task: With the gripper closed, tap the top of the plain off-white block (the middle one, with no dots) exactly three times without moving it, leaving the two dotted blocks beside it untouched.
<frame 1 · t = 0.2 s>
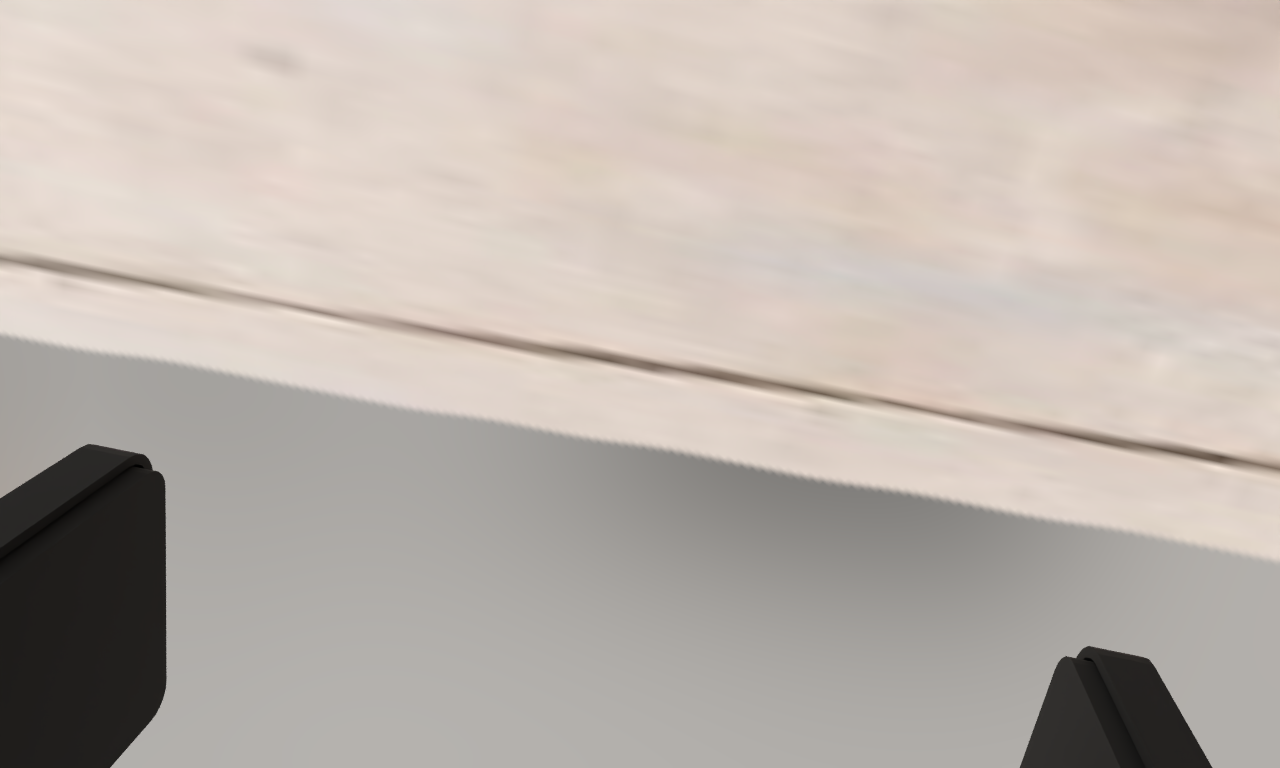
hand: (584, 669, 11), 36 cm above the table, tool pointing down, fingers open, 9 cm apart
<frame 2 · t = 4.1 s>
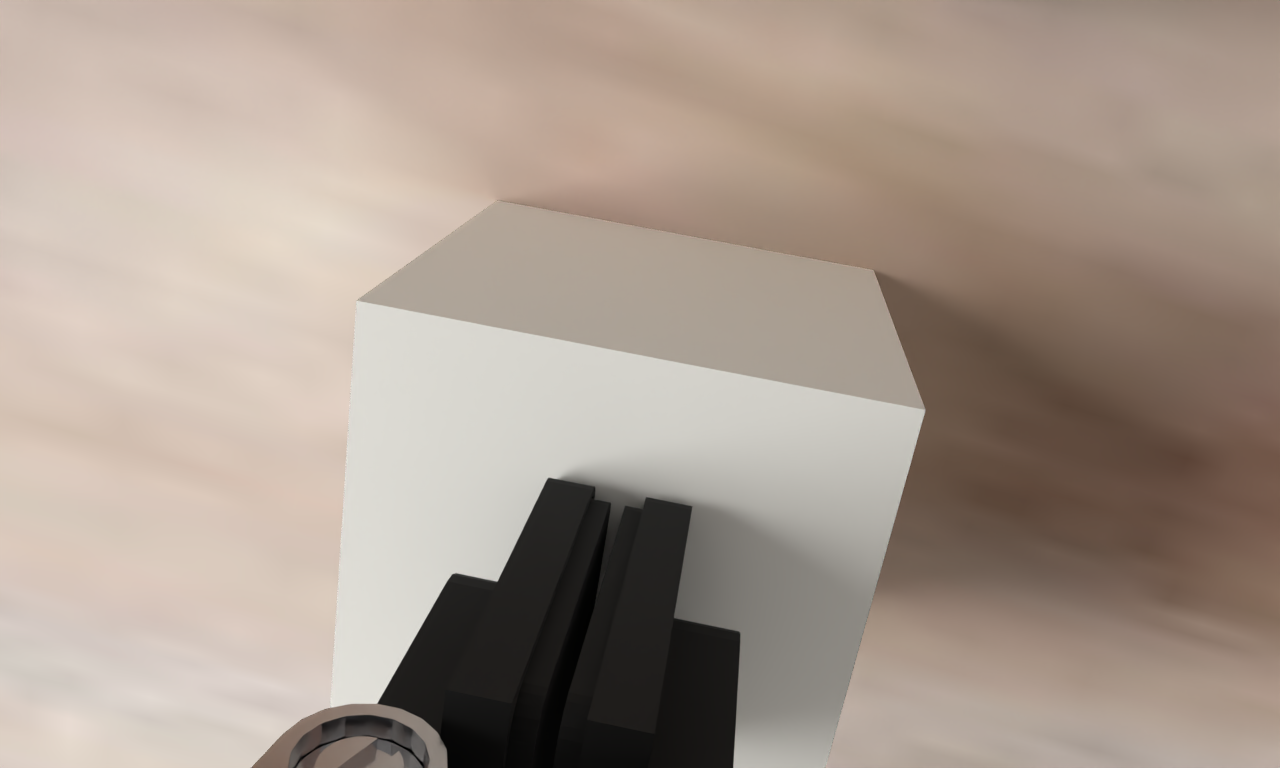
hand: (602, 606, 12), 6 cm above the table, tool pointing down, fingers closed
plain block: (652, 408, 17), on the table, touching gripper
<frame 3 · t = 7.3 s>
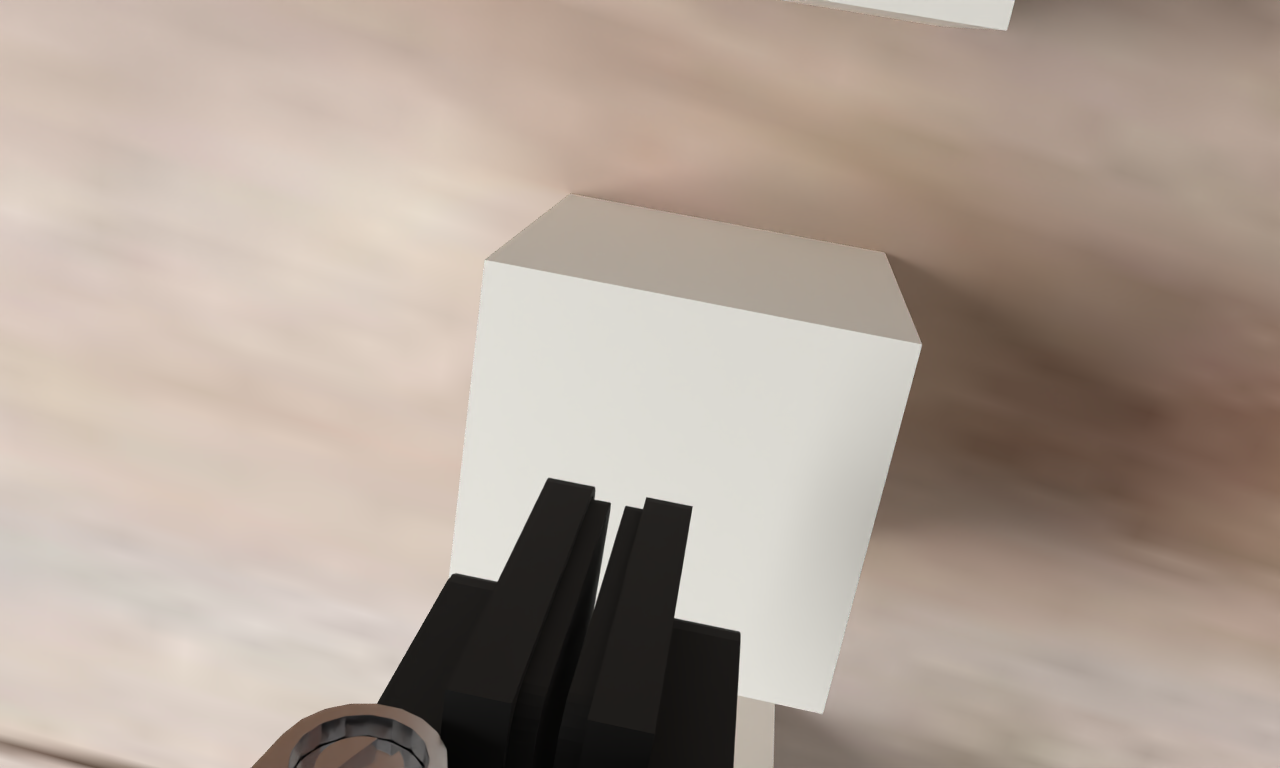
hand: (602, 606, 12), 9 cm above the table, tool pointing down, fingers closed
plain block: (697, 369, 21), on the table
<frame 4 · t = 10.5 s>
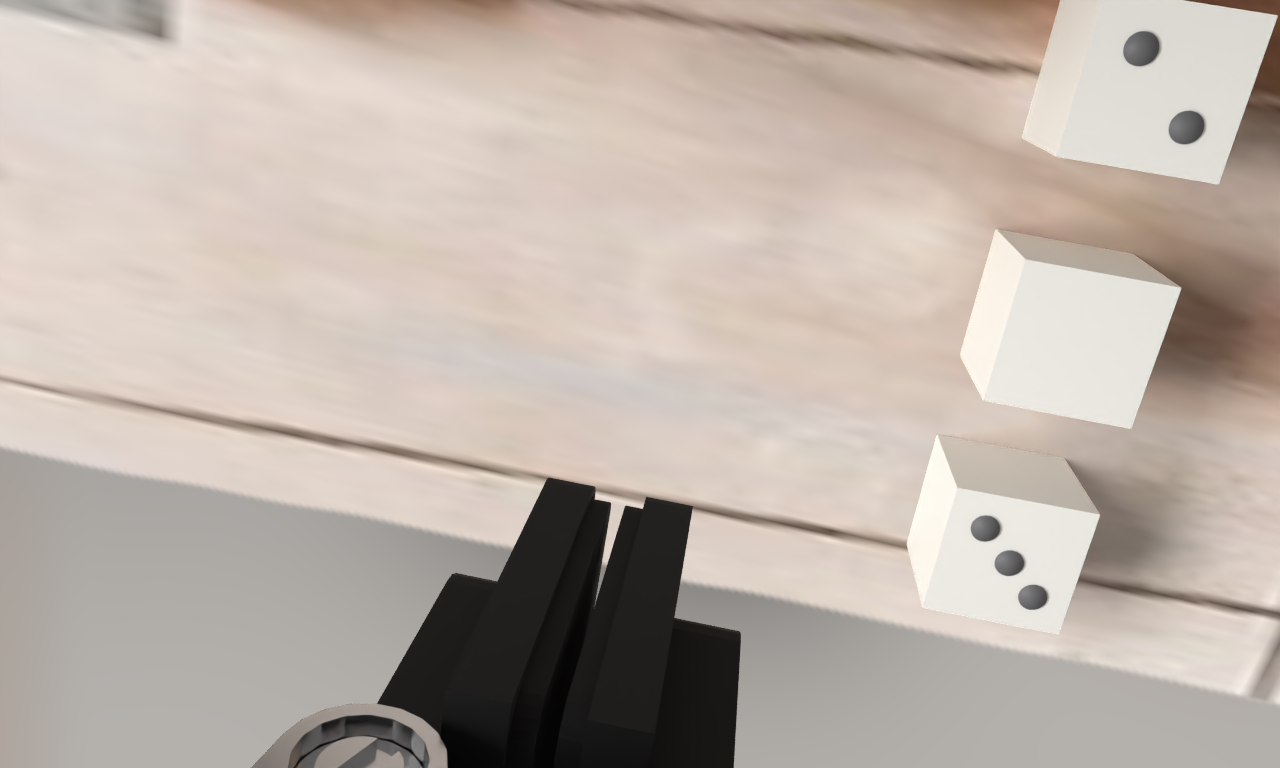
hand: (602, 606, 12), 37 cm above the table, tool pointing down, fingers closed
plain block: (1043, 305, 47), on the table
two dot block: (1113, 77, 44), on the table
three dot block: (983, 501, 51), on the table
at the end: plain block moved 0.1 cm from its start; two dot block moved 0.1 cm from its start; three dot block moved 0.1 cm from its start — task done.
